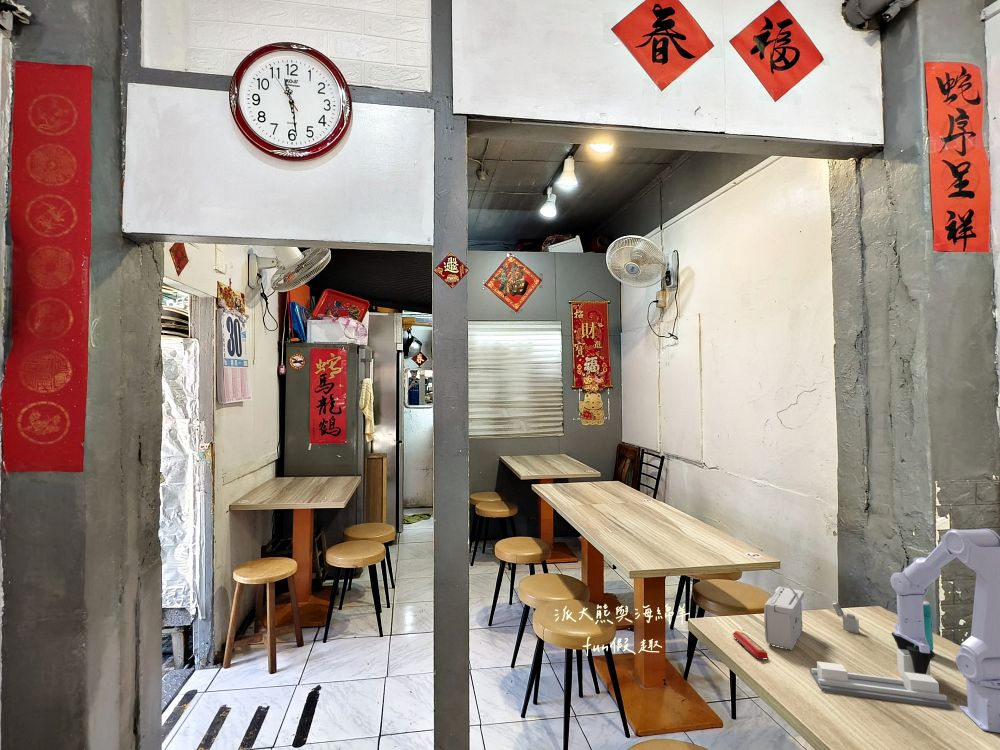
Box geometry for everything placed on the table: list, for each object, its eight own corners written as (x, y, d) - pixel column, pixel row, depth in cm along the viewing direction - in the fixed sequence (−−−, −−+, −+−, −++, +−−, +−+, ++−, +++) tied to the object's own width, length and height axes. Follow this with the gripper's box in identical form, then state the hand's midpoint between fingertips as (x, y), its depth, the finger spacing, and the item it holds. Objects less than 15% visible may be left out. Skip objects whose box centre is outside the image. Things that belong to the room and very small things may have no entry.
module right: (939, 697, 128) (938, 682, 128) (911, 693, 130) (910, 679, 130) (930, 688, 132) (930, 675, 132) (903, 685, 134) (902, 671, 134)
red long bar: (770, 662, 149) (770, 651, 149) (758, 662, 149) (757, 652, 149) (742, 637, 165) (741, 628, 165) (731, 638, 165) (730, 628, 165)
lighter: (859, 632, 168) (858, 607, 169) (857, 633, 167) (856, 608, 168) (834, 624, 174) (833, 600, 174) (833, 626, 173) (831, 602, 173)
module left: (848, 685, 134) (847, 671, 134) (822, 682, 135) (821, 668, 136) (842, 677, 138) (841, 664, 138) (817, 674, 139) (816, 661, 140)
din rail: (951, 708, 125) (950, 700, 125) (821, 691, 133) (821, 683, 133) (929, 687, 135) (929, 679, 135) (810, 672, 142) (809, 665, 143)
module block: (930, 681, 138) (929, 657, 138) (904, 678, 139) (903, 654, 140) (923, 673, 142) (921, 650, 142) (897, 670, 143) (896, 648, 144)
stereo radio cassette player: (778, 624, 174) (776, 564, 176) (806, 630, 169) (803, 569, 171) (764, 646, 158) (761, 580, 160) (794, 654, 153) (791, 586, 154)
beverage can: (938, 657, 151) (935, 605, 152) (916, 655, 152) (913, 603, 153) (926, 648, 157) (923, 598, 158) (905, 646, 158) (902, 596, 159)
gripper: (882, 606, 150) (884, 653, 149) (906, 626, 136) (909, 679, 135) (910, 608, 148) (913, 657, 147) (938, 629, 134) (941, 683, 133)
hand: (913, 668), depth 141 cm, fingers open, 7 cm apart
